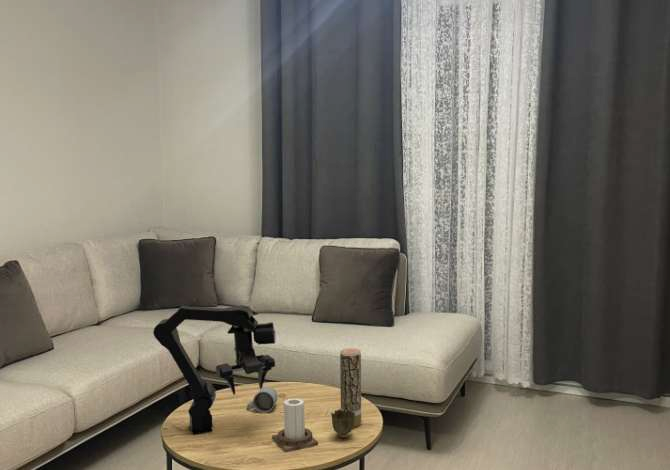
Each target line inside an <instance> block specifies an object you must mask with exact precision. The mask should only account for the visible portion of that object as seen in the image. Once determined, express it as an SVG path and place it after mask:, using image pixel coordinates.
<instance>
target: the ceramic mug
mask: <svg viewBox="0 0 670 470" xmlns="http://www.w3.org/2000/svg"><path fill="white" fill-rule="evenodd" d="M278 396H279V394H278V392H277V390H276V389H275V388H274V387H272V386H263V387H262V389H259V391H258V392H257V393H255V395H254V397H253V400H251V401H250V402H248V403H247V404H246V406H247V407H246V408H248V410H252V409H254V408H255V411H258V412H259V413H261V414H262V413H263V414H267V413H269V412H271V411H272V410H273V409H274V407H275V405H276V403H277V402H278V399H279V398H278Z"/></svg>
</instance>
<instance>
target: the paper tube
mask: <svg viewBox="0 0 670 470" xmlns="http://www.w3.org/2000/svg"><path fill="white" fill-rule="evenodd" d="M361 351H362V350H360V349H358V348H344V349H341V350H340V352H339V354H340V355H339V358H340V359H339V361H340V363H339V364H340V365H339V366H340V367H339V368H340V370H339V371H340V377H339V378H340V410H342V411H343V410H344V409H345V411H347V410H349V411H350V410H351V411H352V412H354V413H355V415H354V424H353V428H357V427H359V426H360V425H361V424H362V353H361Z"/></svg>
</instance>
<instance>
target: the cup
mask: <svg viewBox="0 0 670 470" xmlns="http://www.w3.org/2000/svg"><path fill="white" fill-rule="evenodd" d="M330 414H331V423H332V424H331V425H332V428H333V431H334V432H335V433H336V434H337V437H338V439H342V440H343V439H347V438H349V436H350V433H351V432H352V431H353V428H354V427H353V424H354V415H355V413H354V412H352V411H351V410H350V411H349V410H347V411H345V409H344V410H343V411H342V410H341V408H339V409H337V410H336V409H335V410H334V413H333V412H331V413H330Z"/></svg>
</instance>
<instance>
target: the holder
mask: <svg viewBox="0 0 670 470" xmlns="http://www.w3.org/2000/svg"><path fill="white" fill-rule="evenodd" d="M271 438H272V440H273V441H274V443H276V445H278V447H279V448H281V450H282V451H283V452H284V453H288V452H292V451H296V450H302V449H307V448H310V447H315V446H319V442H318V440H317V439H316V438H315V437H313V432H312V431H311V430H310V429H309V428H305V437H304V438H302V439H297V440H290V439H286V438H285V432H284V428H282V429H281V430H279V431H278V432H277V434H274V435H272V436H271Z"/></svg>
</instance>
